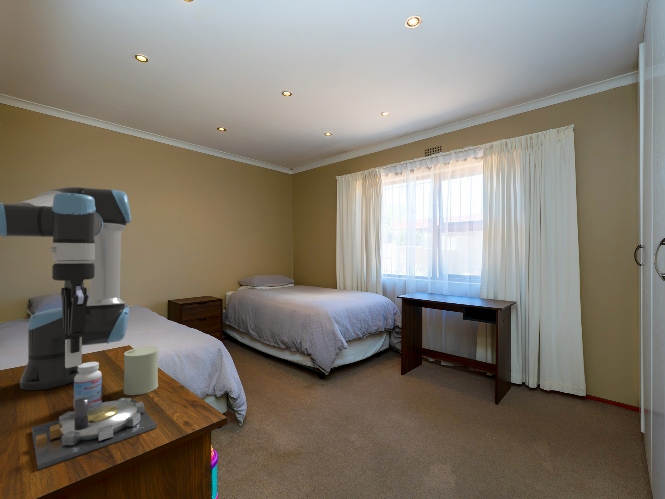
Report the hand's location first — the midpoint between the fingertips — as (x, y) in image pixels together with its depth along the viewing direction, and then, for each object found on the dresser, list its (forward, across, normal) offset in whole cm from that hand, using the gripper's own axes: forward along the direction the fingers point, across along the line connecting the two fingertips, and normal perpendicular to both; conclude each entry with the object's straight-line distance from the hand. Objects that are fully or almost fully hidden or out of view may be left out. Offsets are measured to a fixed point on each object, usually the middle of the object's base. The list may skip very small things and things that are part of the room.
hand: (73, 365), depth 73 cm
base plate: (+16, 0, +5) cm, 17 cm away
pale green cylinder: (+17, -16, +20) cm, 31 cm away
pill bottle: (+16, -15, +6) cm, 23 cm away
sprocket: (+15, 0, +5) cm, 16 cm away
